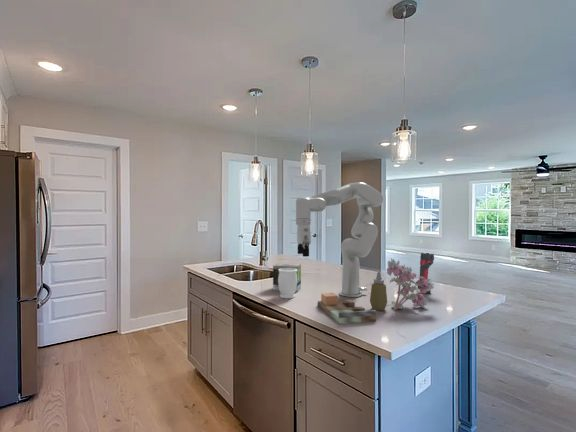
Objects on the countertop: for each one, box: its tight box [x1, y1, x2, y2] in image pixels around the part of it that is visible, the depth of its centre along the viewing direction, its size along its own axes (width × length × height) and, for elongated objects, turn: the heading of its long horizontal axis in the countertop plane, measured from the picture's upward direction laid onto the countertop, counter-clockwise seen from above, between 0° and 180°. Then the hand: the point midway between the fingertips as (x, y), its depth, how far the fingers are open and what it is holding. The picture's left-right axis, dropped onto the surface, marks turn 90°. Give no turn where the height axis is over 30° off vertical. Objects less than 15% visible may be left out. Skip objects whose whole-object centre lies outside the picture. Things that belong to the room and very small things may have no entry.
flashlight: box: [417, 252, 435, 294], centre depth 190 cm, size 8×8×23 cm
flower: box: [386, 257, 435, 311], centre depth 158 cm, size 20×22×25 cm
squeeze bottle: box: [369, 271, 388, 312], centre depth 156 cm, size 8×8×18 cm
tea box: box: [272, 263, 302, 293], centre depth 193 cm, size 15×10×15 cm, turn 76°
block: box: [320, 292, 339, 305], centre depth 157 cm, size 6×6×4 cm
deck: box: [317, 298, 377, 325], centre depth 149 cm, size 17×26×4 cm, turn 15°
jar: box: [278, 268, 297, 299], centre depth 176 cm, size 11×10×15 cm
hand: (303, 255), depth 167 cm, fingers open, 9 cm apart
